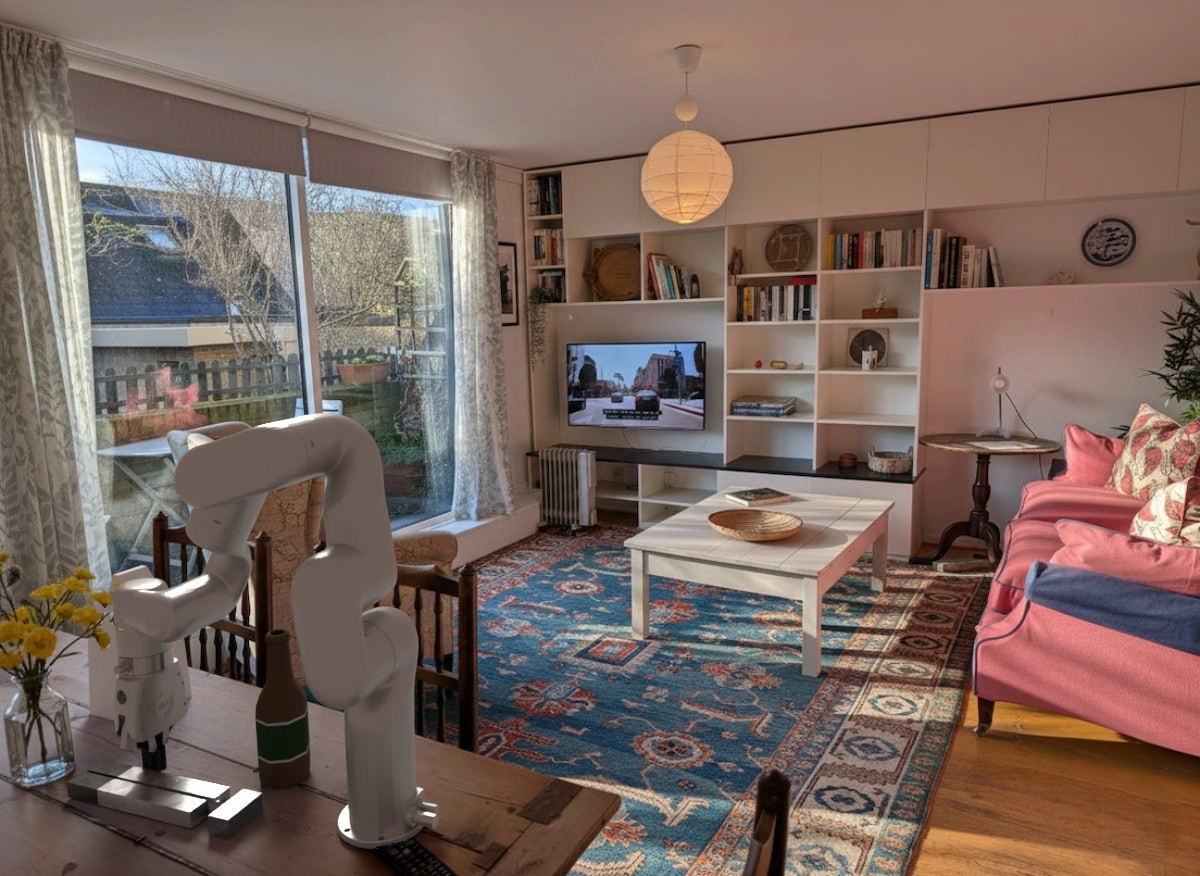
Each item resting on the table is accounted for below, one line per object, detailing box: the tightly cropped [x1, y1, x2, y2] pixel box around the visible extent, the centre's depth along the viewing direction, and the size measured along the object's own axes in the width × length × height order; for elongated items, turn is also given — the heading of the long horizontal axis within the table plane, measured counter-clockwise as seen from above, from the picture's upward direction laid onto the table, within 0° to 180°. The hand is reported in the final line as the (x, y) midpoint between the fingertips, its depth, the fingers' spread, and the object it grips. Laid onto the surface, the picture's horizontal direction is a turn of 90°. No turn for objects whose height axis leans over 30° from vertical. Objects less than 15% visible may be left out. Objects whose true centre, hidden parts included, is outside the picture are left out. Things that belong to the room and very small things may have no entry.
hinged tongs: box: [66, 771, 264, 841], centre depth 121 cm, size 30×7×3 cm, turn 72°
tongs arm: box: [86, 759, 231, 815], centre depth 123 cm, size 26×5×2 cm, turn 73°
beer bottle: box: [254, 628, 311, 791], centre depth 127 cm, size 8×8×24 cm
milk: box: [87, 564, 193, 721], centre depth 150 cm, size 12×12×26 cm
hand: (155, 769), depth 129 cm, fingers closed
